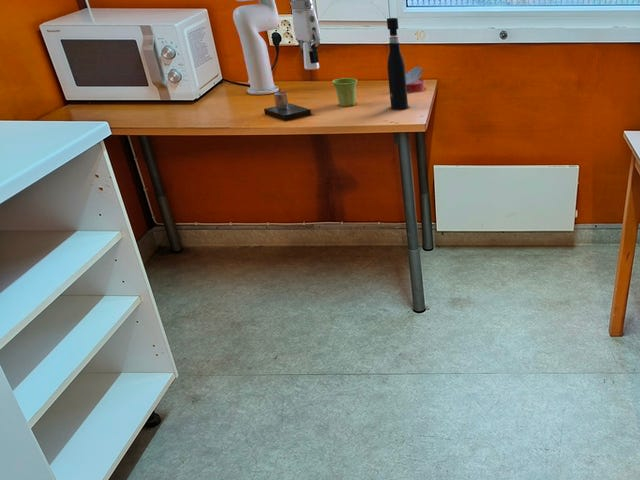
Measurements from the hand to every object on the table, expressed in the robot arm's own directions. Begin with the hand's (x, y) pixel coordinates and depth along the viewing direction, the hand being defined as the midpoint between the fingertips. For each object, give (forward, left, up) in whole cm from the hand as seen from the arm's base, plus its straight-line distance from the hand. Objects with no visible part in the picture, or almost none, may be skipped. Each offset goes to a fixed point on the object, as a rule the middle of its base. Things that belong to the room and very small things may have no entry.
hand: (311, 61), depth 232 cm
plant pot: (+4, +11, -17) cm, 20 cm away
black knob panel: (-1, -13, -16) cm, 21 cm away
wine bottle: (+23, +21, -17) cm, 35 cm away
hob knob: (-4, -13, -14) cm, 20 cm away
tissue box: (+4, +44, -17) cm, 47 cm away
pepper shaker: (0, 0, -2) cm, 2 cm away
